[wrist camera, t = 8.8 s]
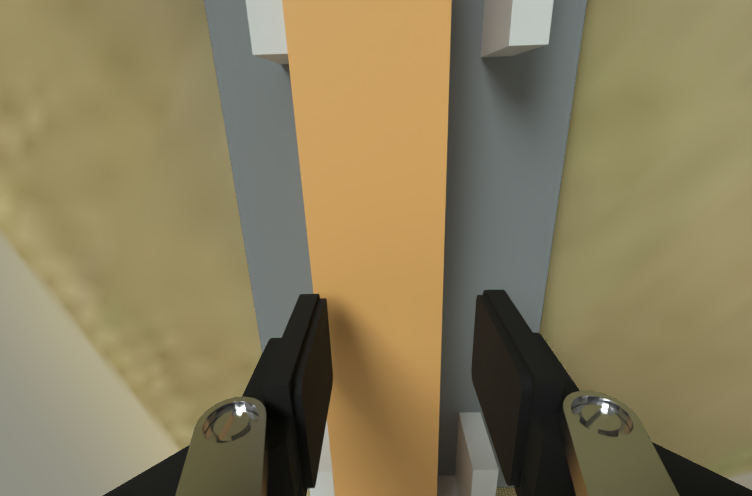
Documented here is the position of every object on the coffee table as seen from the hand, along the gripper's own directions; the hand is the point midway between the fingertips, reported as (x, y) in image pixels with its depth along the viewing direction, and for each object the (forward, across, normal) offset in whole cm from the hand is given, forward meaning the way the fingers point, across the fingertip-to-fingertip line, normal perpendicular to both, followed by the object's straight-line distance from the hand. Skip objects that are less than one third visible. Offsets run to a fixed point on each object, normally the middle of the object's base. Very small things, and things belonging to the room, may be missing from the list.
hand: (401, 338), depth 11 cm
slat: (+5, +1, 0) cm, 5 cm away
